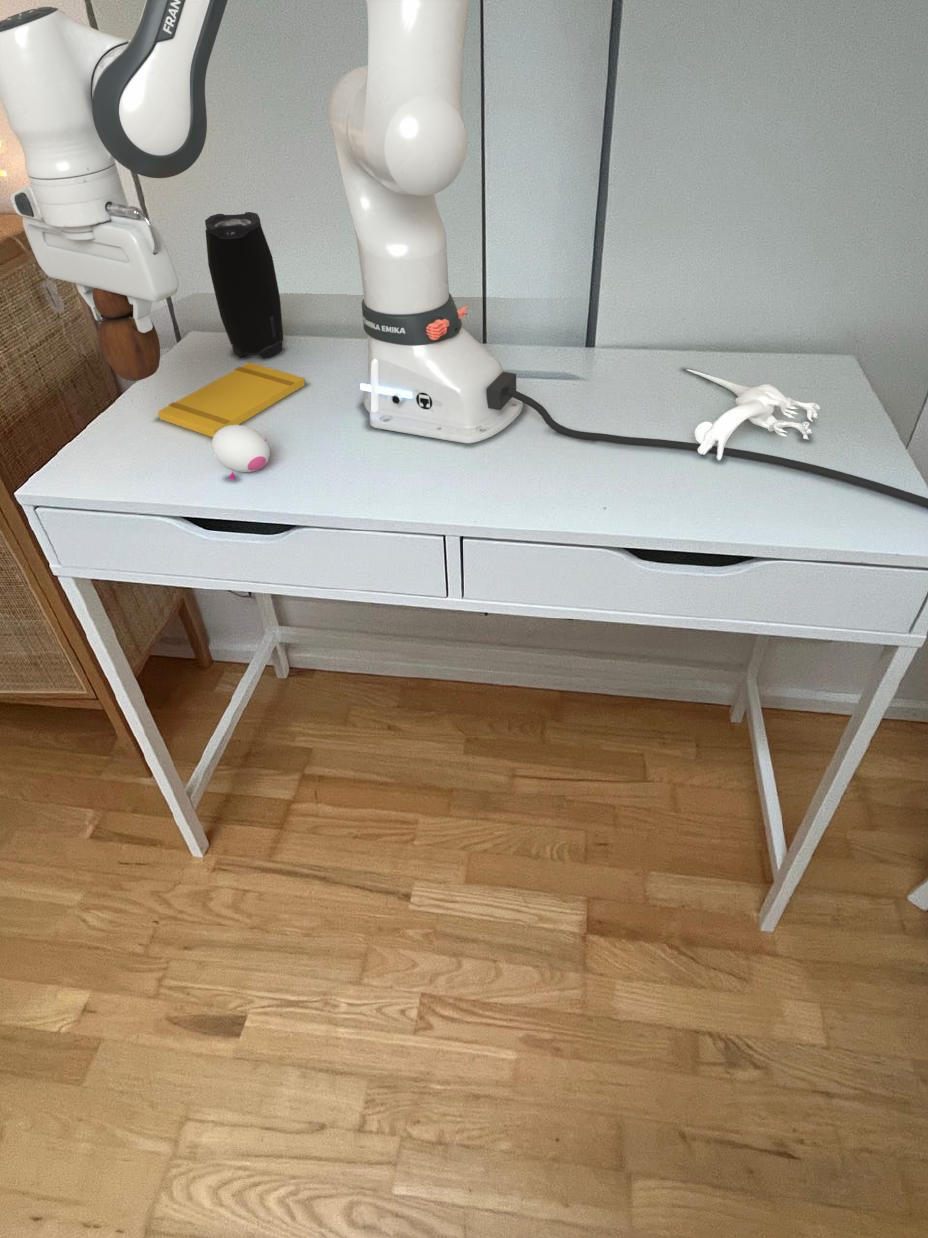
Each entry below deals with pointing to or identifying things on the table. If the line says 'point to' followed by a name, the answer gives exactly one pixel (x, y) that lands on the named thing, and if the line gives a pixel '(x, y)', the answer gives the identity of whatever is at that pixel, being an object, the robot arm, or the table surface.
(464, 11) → the robot arm
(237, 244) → the portable speaker
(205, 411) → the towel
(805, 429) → the dinosaur
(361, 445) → the table surface
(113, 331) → the wooden figurine
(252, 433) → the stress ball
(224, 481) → the table surface
